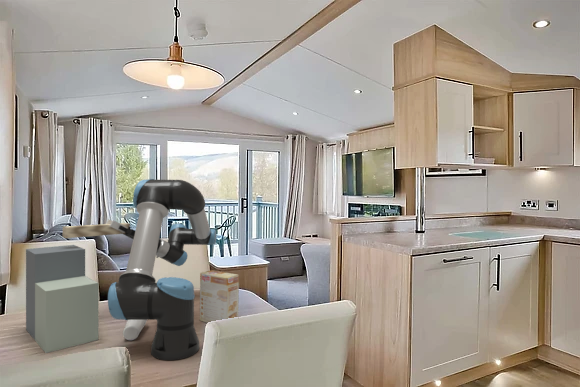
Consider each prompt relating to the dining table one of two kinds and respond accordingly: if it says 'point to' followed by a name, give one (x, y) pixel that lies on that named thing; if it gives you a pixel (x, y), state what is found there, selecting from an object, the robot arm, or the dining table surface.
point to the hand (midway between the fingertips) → (109, 222)
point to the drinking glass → (133, 328)
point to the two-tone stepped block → (60, 298)
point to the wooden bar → (90, 230)
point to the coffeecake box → (218, 295)
